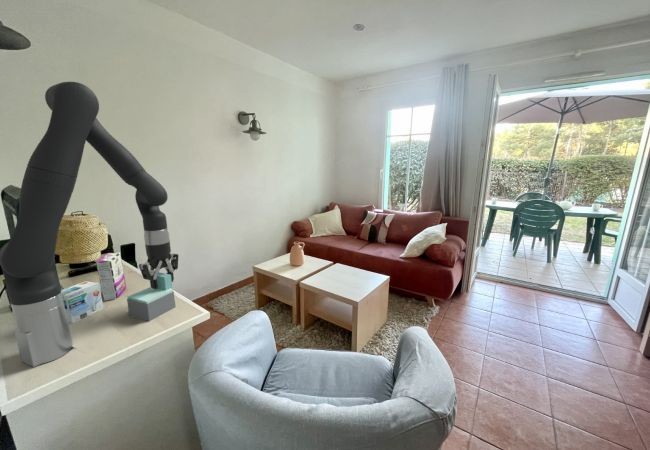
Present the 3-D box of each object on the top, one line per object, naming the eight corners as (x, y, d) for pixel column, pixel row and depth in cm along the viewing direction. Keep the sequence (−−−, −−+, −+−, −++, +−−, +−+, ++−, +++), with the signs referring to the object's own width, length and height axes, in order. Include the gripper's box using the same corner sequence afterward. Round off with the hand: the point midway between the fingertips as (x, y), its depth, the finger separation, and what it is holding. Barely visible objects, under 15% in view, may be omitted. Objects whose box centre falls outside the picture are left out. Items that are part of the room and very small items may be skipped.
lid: (147, 306, 87) (145, 287, 86) (128, 300, 91) (125, 283, 89) (176, 292, 97) (174, 275, 96) (158, 287, 101) (155, 271, 99)
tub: (149, 323, 88) (147, 304, 87) (129, 317, 92) (126, 298, 90) (175, 309, 97) (173, 291, 96) (156, 304, 101) (154, 287, 100)
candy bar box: (112, 289, 113) (106, 253, 109) (126, 287, 115) (121, 252, 111) (102, 301, 103) (95, 261, 99) (117, 299, 104) (111, 260, 101)
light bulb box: (72, 325, 87) (66, 295, 84) (56, 323, 88) (50, 293, 86) (105, 309, 97) (100, 282, 95) (90, 307, 98) (85, 280, 96)
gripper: (145, 247, 86) (151, 295, 89) (182, 237, 99) (186, 279, 103) (129, 245, 89) (136, 291, 92) (167, 235, 102) (172, 276, 105)
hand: (163, 285), depth 97 cm, fingers open, 5 cm apart
